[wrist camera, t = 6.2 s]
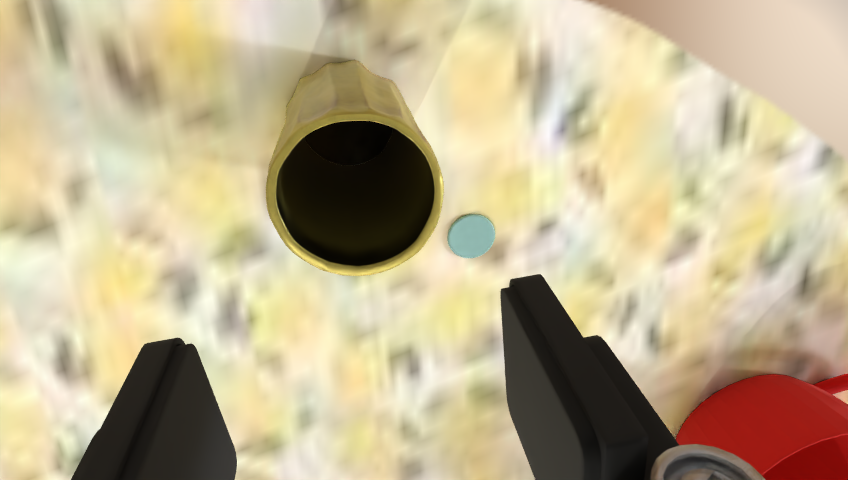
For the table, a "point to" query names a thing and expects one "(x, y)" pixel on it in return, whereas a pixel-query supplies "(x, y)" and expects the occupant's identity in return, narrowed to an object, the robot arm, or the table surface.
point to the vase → (353, 178)
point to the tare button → (471, 236)
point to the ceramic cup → (777, 426)
